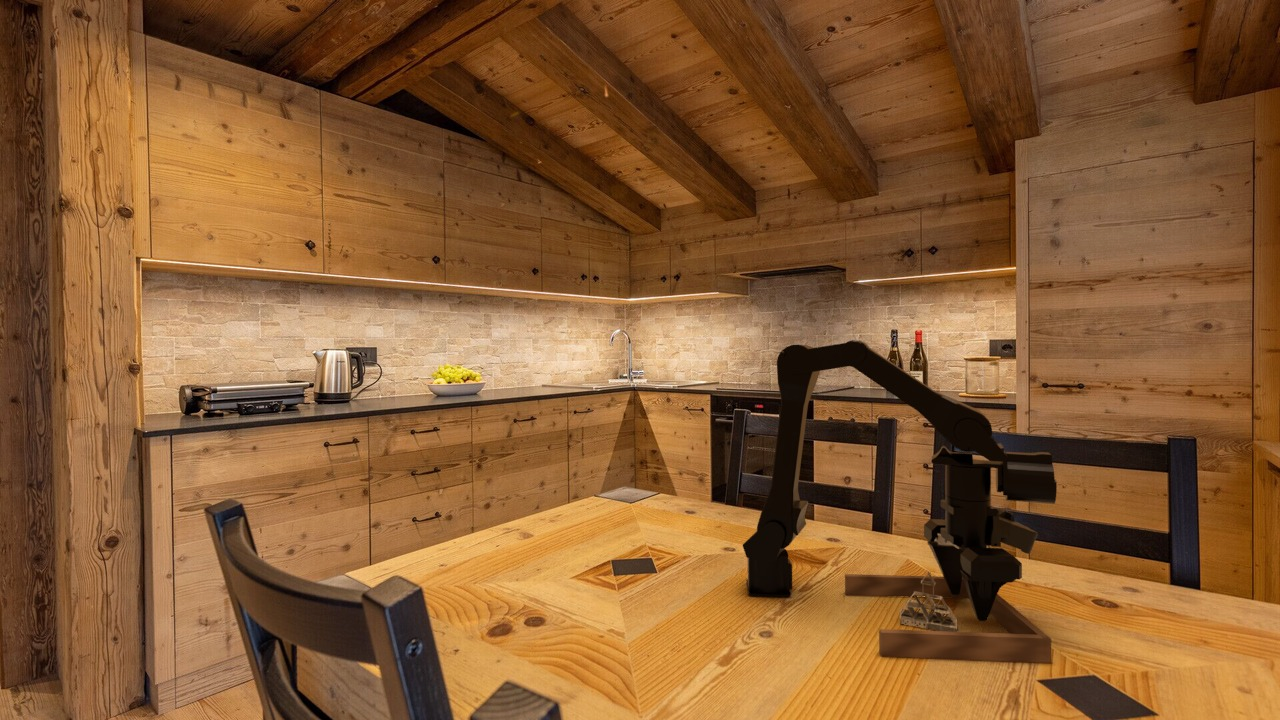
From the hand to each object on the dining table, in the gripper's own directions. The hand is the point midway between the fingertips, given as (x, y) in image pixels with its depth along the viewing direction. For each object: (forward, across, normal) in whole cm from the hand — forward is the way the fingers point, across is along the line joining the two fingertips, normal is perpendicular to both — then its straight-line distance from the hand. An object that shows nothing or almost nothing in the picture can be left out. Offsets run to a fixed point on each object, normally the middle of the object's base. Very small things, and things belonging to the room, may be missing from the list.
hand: (967, 606), depth 89 cm
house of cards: (+2, 0, +4) cm, 5 cm away
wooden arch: (+2, -2, +5) cm, 6 cm away
